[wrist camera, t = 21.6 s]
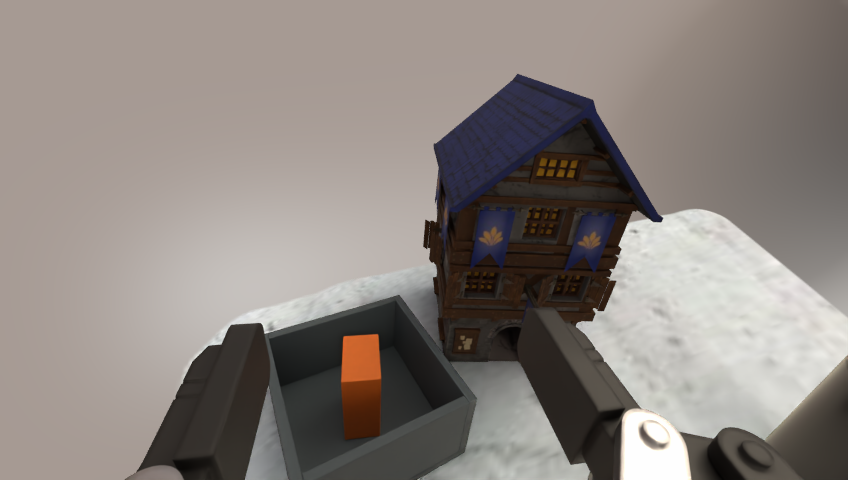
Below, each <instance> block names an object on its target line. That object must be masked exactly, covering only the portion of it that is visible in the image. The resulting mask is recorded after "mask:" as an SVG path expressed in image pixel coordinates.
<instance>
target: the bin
mask: <svg viewBox="0 0 848 480" xmlns="http://www.w3.org/2000/svg"><path fill="white" fill-rule="evenodd" d="M373 334H378V337H379V352H380V367H381V416H380V436H374V437H365V438H357V439H348V440H345V435H344V420H343V405H342V390H341V372H342V351H343V337H344V336H357V335H373ZM265 339H266V344H267V348H268V353H269V358H270V379H269V384H268V385H269V389H270V394H271V399H272V403H273V408H274V413H275V418H276V422H277V427H278V432H279V436H280V441H281V446H282V451H283V455H284V460H285V465H286V470H287V474H288V479H289V480H417V479H418V478H420V477H422V476H423V475H425V474H427V473H429V472H430V471H432V470H434V469H436V468H437V467H439V466H441V465H443V464H444V463H446V462H448V461H450V460H451V459H453V458H455V457H457V456H458V455H460V454H462V453H464V452H465V447H466V444H467V439H468V435H469V431H470V427H471V423H472V418H473V414H474V410H475V406H476V402H477V398H476V397H475V395H474V394H473V393H472V391H471V390H470V389H469V387H468V386H467V385H466V383H465V382H464V381H463V379H462V378H461V377H460V375H459V374H458V373H457V371H456V370H455V369H454V367H453V366H452V365H451V363H450V362H449V361H448V359H447V358H446V357H445V355H444V354H443V353H442V351H441V350H440V349H439V347H438V346H437V345H436V343H435V342H434V341H433V339H432V338H431V337H430V335H429V334H428V333H427V331H426V330H425V329H424V327H423V326H422V325H421V323H420V322H419V321H418V319H417V318H416V317H415V315H414V314H413V313H412V311H411V310H410V309H409V307H408V306H407V305H406V303H405V302H404V301H403V299H402V298H401V297H400V295H397V296H394V297H391V298H387V299H384V300H380V301H377V302H373V303H370V304H366V305H363V306H360V307H356V308H353V309H349V310H346V311H342V312H339V313H336V314H332V315H329V316H325V317H322V318H318V319H315V320H311V321H308V322H305V323H301V324H298V325H294V326H291V327H287V328H284V329H281V330H277V331H274V332H270V333H268V334H267V333H266V334H265Z"/></svg>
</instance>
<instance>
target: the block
mask: <svg viewBox="0 0 848 480" xmlns="http://www.w3.org/2000/svg"><path fill="white" fill-rule="evenodd" d="M341 390H342V405H343V420H344V435H345V440H348V439H357V438H365V437H374V436H380V416H381V367H380V352H379V337H378V334H373V335H357V336H344V337H343V351H342V372H341Z"/></svg>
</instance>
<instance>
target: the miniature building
mask: <svg viewBox="0 0 848 480" xmlns="http://www.w3.org/2000/svg"><path fill="white" fill-rule="evenodd" d="M434 151H435V154H436V158H437V162H438V166H439V170H438V179H437V189H436V198H435V202H436V200H437V212H438V214H437V222H436V223H435V222H434V221H430V222H429V221H427V220H425V232H424V245H423V247H425V248H426V249H427V247H428V248H430V257H429V259H430V261H431V262H432V263H433V262H434V263H435V265H436V267H437V277H433V282H434V292H435V294H436V295H437V304H438V312H439V318H438V327H439V337H440V340H441V341H442V345H443V354H444V355H445V357H446V358H447V359H448V361H470V362H488V361H519V358H518V353H517V342H518V339H519V335H520V332H521V328H522V325H523V321H524V318H525V314H526V312H527V310H528V309H531V308H549V307H552V308H554V309H555V310H556V311H557V312H558V314H559V315H560V316H561V318H562V319H563V321H564V322H565V323H571V324H572V325H574V326H576V324H577V323H578V322H581V321H593V318H594V316H595V312H594V311H593V308H596V309H598V310H597V311H604V310H605V307H606V305H607V302H608V300H609V298H610V295H611V293H612V291H613V288H614V286H615V283H616V281H609V280H610V279H609V278H607V277H610V275H611V273H612V272H611V271H610V270H609V269H614V268H615V266H616V263H617V261H618V258H617V256H616V255H619V254H620V251H621V248H620V247H619V246H618V245H619V243H620V240H621V238H622V235H623V233H624V231H625V228H626V226H627V223H628V221H629V218H630V216H631V214H632V211H635V212H636V210H637V211H639V212H641V213H642V214H643V215H645V216H646V217H647V218H649V219H650V220H651V221H653V222H662V220H663V217H661V216H660V215H658V214H657V212H656V210H655V208H654V207H653V205H652V204H651V202H650V200H649V198H648V197H647V195H646V193H645V192H644V190H643V188H642V187H641V186H640V184H639V182H638V180H637V178H636V177H635V175H634V173H633V172H632V170H631V169H630V167H629V165H628V164H627V162H626V160H625V159H624V157H623V155H622V154H621V152H620V150H619V149H618V147H617V145H616V144H615V142H614V140H613V139H612V137H611V135H610V134H609V132H608V131H607V129H606V127H605V125H604V124H603V122H602V120H601V119H600V117H599V115H598V114H597V112H596V109H595V105H594V101H593V100H591V99H589V98H586V97H583V96H580V95H577V94H574V93H571V92H569V91H565V90H562V89H559V88H557V87H554V86H551V85H548V84H545V83H543V82H540V81H537V80H534V79H531V78H528V77H525V76H522V75H519V74H517V75H516V77H515V78H514V79H513V80H512V81H511V82H510V83H509V84H507V85H506V86H505V87H504V88H503V89H501V90H500V91H499V92H498V93H497V94H495V95H494V96H493V97H492V98H491V99H489V100H488V101H487V102H486V103H485V104H483V105H482V106H481V107H480V108H479V109H477V110H476V111H475V112H474V113H472V114H471V115H470V116H469V117H468V118H466V119H465V120H464V121H463V122H462V123H460V124H459V125H458V126H457V127H456V128H454V129H453V130H452V131H451V132H450V133H448V134H447V135H446V136H445V137H443V138H442V139H441V140H440V141H439V142H437V143H436V144H434ZM429 227H430V231H429ZM428 237H429V242H428ZM607 285H608V286H607ZM606 287H607V288H606ZM605 290H606V291H605ZM604 292H605V293H604ZM603 295H604V296H603ZM602 297H603V298H602ZM601 299H602V300H601ZM600 302H601V303H600ZM599 304H600V305H599ZM598 307H599V308H598ZM519 362H520V361H519Z"/></svg>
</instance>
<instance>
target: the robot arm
mask: <svg viewBox="0 0 848 480" xmlns="http://www.w3.org/2000/svg"><path fill="white" fill-rule="evenodd" d="M517 353H518V358H519V361H520V363H521V365H522V367H523V369H524V371H525V373H526V375H527V377H528V379H529V381H530V383H531V385H532V387H533V389H534V391H535V393H536V396H537V398H538V400H539V402H540V404H541V406H542V408H543V410H544V412H545V414H546V416H547V418H548V420H549V422H550V424H551V426H552V428H553V430H554V432H555V434H556V436H557V438H558V440H559V442H560V444H561V446H562V448H563V450H564V452H565V454H566V456H567V458H568V460H569V462H570V464H571V465H572V464H579V463H586V464H587V466H588V468H589V469H590V471H591V472H590V474H589V476H588V480H848V355H847V356H846V357H845V358H844V359H843V360H842V361H841V362H840V363H839V364H838V365H837V366H836V367H835V369H834V370H833V371H832V372H831V373H830V374H829V375H828V376H827V377H826V378H825V379H824V380H823V381H822V382H821V383H820V384H819V385H818V386H817V387H816V388H815V389H814V390H813V391H812V392H811V393H810V394H809V395H808V396H807V397H806V398H805V399H804V400H803V401H802V402H801V403H800V404H799V405H798V407H797V408H796V409H795V410H794V411H793V412H792V413H791V414H790V415H789V416H788V417H787V418H786V419H785V420H784V421H783V422H782V423H781V424H780V425H779V426H778V427H777V428H776V429H775V430H774V431H773V432H772V433H771V434H770V435H769V436H768V437H767V438H766V439H765V440H762V439H761V438H759V437H758V436H756V435H754V434H752V433H750V432H747V431H745V430H742V429H739V428H731V427H729V428H724V429H722V430H721V431H720V432H719V433H718V435H717V436H716V437H715V438H714V439H711V438H706V437H702V436H697V435H692V434H687V433H682V432H678V430H677V429H676V428H675V427H674V426H673V425H672V424H671V423H669V422H668V421H667V420H666V419H664V418H663V417H661V416H659V415H658V414H656V413H654V412H651V411H648V410H645V409H641V408H640V407H639V405H638V404H637V403H636V401H635V400H634V399H633V397H632V396H631V395H630V394H629V392H628V391H627V390H626V388H625V387H624V386H623V384H622V383H621V382H620V380H619V379H618V378H617V376H616V375H615V374H614V372H613V371H612V370H611V368H610V367H609V366H608V364H607V363H606V362H604V361H603V358H602V356H601V355H600V354H599V352H598V351H596V350H595V347H594V346H593V344H592V343H591V342H590V340H589V339H588V338H587V336H586V335H585V334H584V333H583V332H581V331H580V330H579V329H577V328H576V327H575V326H574V325H572V324H571V323H565V322H564V321H563V319H562V318H561V316H560V315H559V314H558V312H557V311H556V310H555V309H554V308H552V307H549V308H531V309H528V310H527V312H526V314H525V318H524V321H523V325H522V328H521V332H520V335H519V339H518V342H517ZM269 379H270V358H269V353H268V348H267V344H266V339H265V334H264V329H263V326H262V324H261V323H254V324H236V325H231V326H230V327H229V329H228V331H227V333H226V335H225V338H224V340H223V342H222V345H212V346H208V347H207V348H206V349H205V350H204V351H203V352H202V353H201V354H200V355H199V356H198V357H197V358H196V359H195V360H194V361H193V362H192V364H191V366H190V368H189V370H188V372H187V374H186V376H185V378H184V380H183V384H181V386H180V388H179V390H178V392H177V394H176V399H175V400H173V402H172V404H171V406H170V408H169V410H168V412H167V414H166V416H165V418H164V420H163V422H162V424H161V426H160V428H159V430H158V432H157V435H156V436H155V438H154V440H153V442H152V445H151V447H150V448H149V450H148V452H147V454H146V456H145V458H144V460H143V462H142V464H141V466H140V467H139V469H138V470H137V472H136V473H134V474H133V475H131V476H129V477H128V478H126V479H125V480H245V477H246V473H247V469H248V465H249V461H250V456H251V452H252V448H253V444H254V440H255V436H256V432H257V428H258V424H259V420H260V416H261V412H262V408H263V404H264V400H265V396H266V392H267V388H268V384H269Z"/></svg>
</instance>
